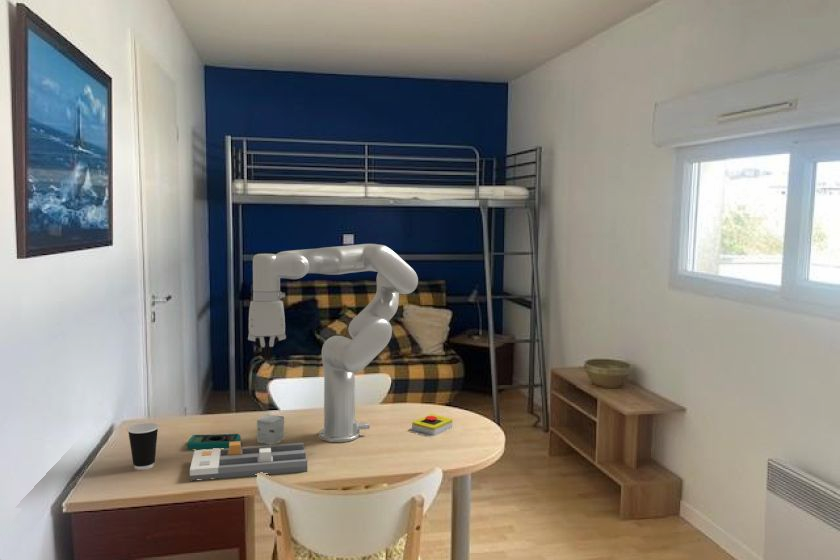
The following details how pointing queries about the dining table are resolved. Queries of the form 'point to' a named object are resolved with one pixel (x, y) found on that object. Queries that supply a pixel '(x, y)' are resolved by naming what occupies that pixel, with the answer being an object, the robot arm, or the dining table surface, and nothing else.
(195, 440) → the digital multimeter
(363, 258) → the robot arm
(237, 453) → the tab orange
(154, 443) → the dixie cup
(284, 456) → the switch panel
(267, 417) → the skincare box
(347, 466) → the dining table surface
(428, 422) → the emergency button
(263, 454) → the tab white
